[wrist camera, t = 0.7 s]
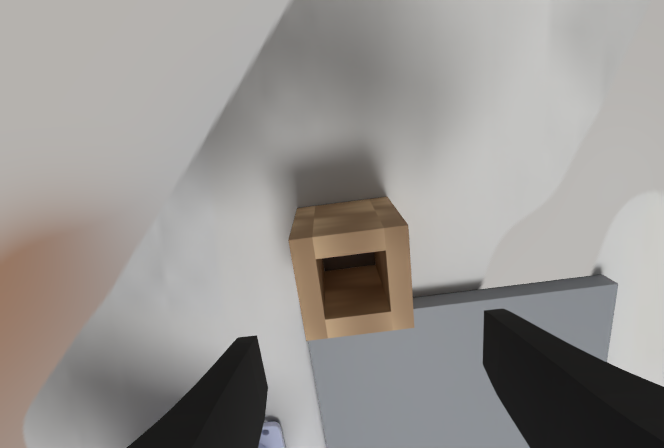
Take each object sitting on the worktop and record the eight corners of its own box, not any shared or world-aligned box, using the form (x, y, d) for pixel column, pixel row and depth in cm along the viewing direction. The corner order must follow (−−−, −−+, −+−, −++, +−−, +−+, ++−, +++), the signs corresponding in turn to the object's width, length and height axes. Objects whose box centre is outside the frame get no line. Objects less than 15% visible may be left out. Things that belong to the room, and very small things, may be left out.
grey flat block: (330, 455, 25) (333, 574, 19) (305, 310, 21) (297, 397, 15) (582, 426, 25) (673, 537, 18) (602, 274, 21) (725, 347, 14)
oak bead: (310, 288, 21) (306, 341, 16) (297, 208, 19) (288, 240, 14) (393, 277, 21) (414, 327, 16) (387, 196, 19) (407, 224, 14)
